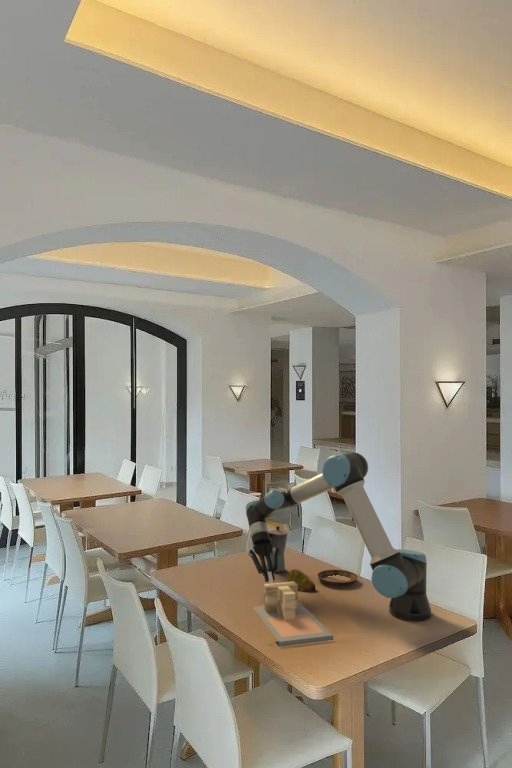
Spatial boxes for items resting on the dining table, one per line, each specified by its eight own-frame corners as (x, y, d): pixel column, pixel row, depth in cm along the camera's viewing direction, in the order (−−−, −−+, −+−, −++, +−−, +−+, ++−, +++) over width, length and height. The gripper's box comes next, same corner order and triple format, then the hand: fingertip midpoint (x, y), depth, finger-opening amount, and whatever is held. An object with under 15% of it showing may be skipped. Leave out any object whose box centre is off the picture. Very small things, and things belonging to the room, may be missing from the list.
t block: (263, 608, 198) (263, 584, 199) (293, 605, 202) (294, 581, 202) (273, 621, 187) (274, 595, 187) (305, 617, 190) (305, 592, 191)
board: (252, 611, 200) (252, 607, 200) (299, 606, 205) (299, 602, 205) (278, 646, 171) (278, 641, 171) (333, 639, 177) (333, 635, 177)
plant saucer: (310, 578, 239) (310, 571, 240) (344, 574, 246) (344, 567, 246) (329, 591, 223) (329, 583, 223) (365, 586, 229) (365, 579, 229)
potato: (300, 597, 214) (301, 577, 215) (283, 587, 226) (284, 568, 226) (317, 594, 218) (318, 574, 219) (300, 584, 230) (300, 566, 230)
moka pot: (292, 567, 253) (293, 525, 254) (276, 576, 240) (276, 531, 241) (275, 564, 258) (275, 522, 259) (258, 572, 245) (258, 528, 246)
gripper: (272, 539, 229) (285, 592, 212) (243, 541, 225) (254, 595, 208) (276, 529, 224) (290, 583, 207) (247, 531, 220) (258, 585, 204)
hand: (272, 589), depth 208 cm, fingers closed
